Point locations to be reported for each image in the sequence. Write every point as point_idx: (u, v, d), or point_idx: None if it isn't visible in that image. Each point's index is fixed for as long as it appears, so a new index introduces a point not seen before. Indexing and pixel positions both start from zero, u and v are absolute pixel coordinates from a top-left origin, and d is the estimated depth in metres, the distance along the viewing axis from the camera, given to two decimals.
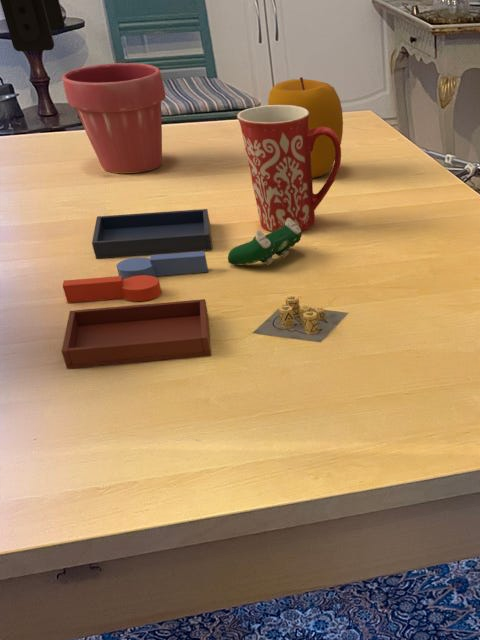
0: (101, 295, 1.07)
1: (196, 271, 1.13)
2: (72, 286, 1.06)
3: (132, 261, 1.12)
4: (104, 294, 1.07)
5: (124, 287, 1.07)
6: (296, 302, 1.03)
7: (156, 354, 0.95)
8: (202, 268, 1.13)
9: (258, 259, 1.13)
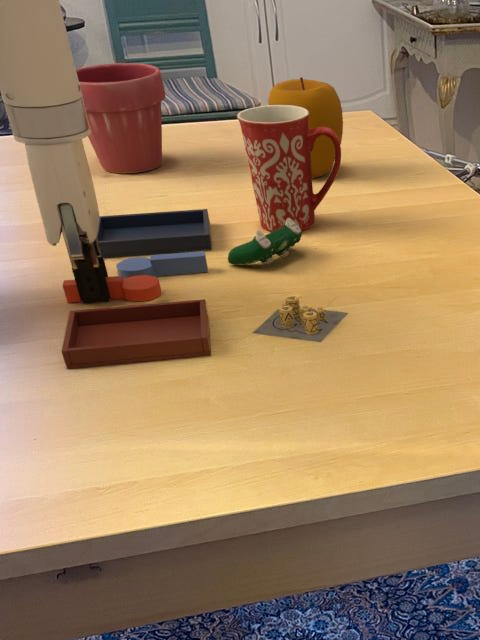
0: None
1: (196, 271, 1.13)
2: (72, 286, 1.06)
3: (132, 261, 1.12)
4: None
5: (124, 287, 1.07)
6: (296, 302, 1.03)
7: (156, 354, 0.95)
8: (202, 268, 1.13)
9: (258, 259, 1.13)
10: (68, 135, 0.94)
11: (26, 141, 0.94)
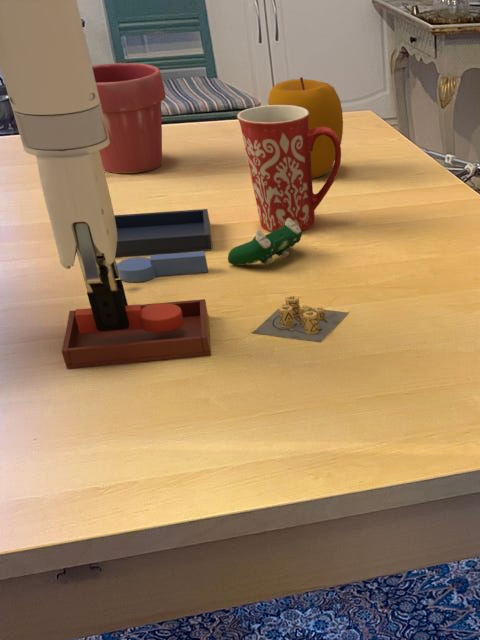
0: None
1: (196, 271, 1.13)
2: (86, 316, 0.96)
3: (132, 261, 1.12)
4: None
5: (143, 317, 0.97)
6: (296, 302, 1.03)
7: (156, 354, 0.95)
8: (202, 268, 1.13)
9: (258, 259, 1.13)
10: (85, 146, 0.84)
11: (37, 152, 0.83)
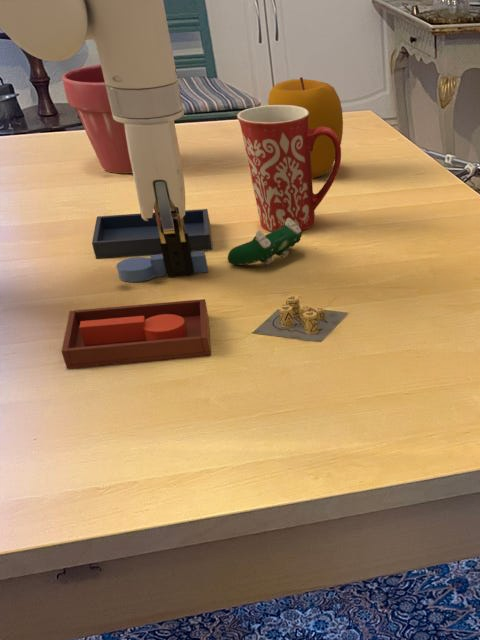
0: (122, 337, 0.98)
1: (196, 271, 1.13)
2: (90, 328, 0.96)
3: (132, 261, 1.12)
4: (125, 336, 0.98)
5: (147, 328, 0.97)
6: (295, 302, 1.03)
7: (156, 354, 0.95)
8: (202, 268, 1.13)
9: (258, 259, 1.13)
10: (165, 115, 1.00)
11: (126, 121, 1.00)
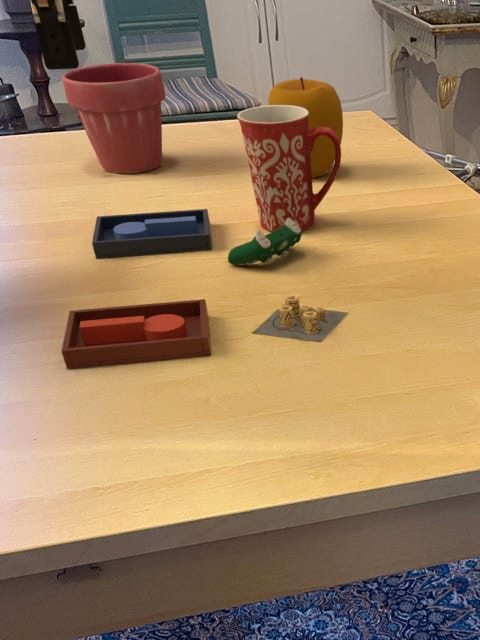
0: (122, 337, 0.98)
1: None
2: (90, 328, 0.96)
3: (128, 225, 1.21)
4: (125, 336, 0.98)
5: (147, 328, 0.97)
6: (295, 302, 1.03)
7: (156, 354, 0.95)
8: (193, 231, 1.22)
9: (258, 259, 1.13)
10: None
11: None
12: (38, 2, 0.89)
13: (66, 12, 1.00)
